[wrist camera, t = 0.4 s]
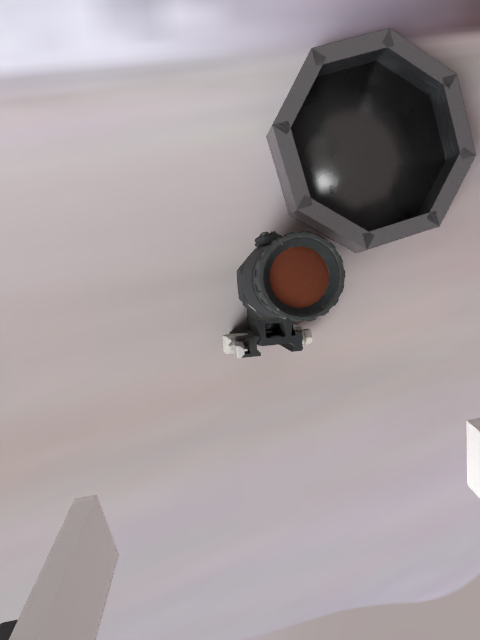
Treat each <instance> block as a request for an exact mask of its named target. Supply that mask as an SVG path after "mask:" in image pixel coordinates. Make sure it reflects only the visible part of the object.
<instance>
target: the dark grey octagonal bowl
mask: <svg viewBox="0 0 480 640" xmlns="http://www.w3.org/2000/svg"><path fill="white" fill-rule="evenodd" d="M267 140H268V143H269V147H270V150H271V154H272V157H273V160H274V164H275V167H276V171H277V174H278V177H279V181H280V184H281V188H282V191H283V194H284V198H285V201H286V205H287V208H288V211H289V215H290V216H292V217H294V218H295V219H297V220H299V221H301V222H302V223H304V224H306V225H308V226H309V227H311V228H313V229H315V230H316V231H318V232H320V233H322V234H323V235H325V236H327V237H329V238H330V239H332V240H334V241H336V242H338V243H339V244H341V245H343V246H345V247H346V248H348V249H350V250H352V251H353V252H355V253H356V252H360V251H364V250H368V249H371V248H374V247H377V246H380V245H383V244H386V243H389V242H392V241H395V240H399V239H402V238H405V237H408V236H411V235H414V234H417V233H420V232H423V231H426V230H430V229H433V228H436V227H439V226H440V224H441V222H442V220H443V218H444V217H445V215H446V213H447V211H448V209H449V207H450V205H451V203H452V201H453V199H454V197H455V195H456V193H457V191H458V189H459V187H460V185H461V183H462V181H463V179H464V177H465V175H466V174H467V172H468V170H469V168H470V166H471V164H472V162H473V160H474V158H475V156H476V154H475V149H474V145H473V141H472V137H471V132H470V128H469V124H468V120H467V115H466V111H465V107H464V103H463V99H462V94H461V90H460V86H459V82H458V77H457V74H456V73H454V72H453V71H451V70H450V69H449V68H447V67H446V66H444V65H443V64H441V63H440V62H438V61H437V60H435V59H434V58H432V57H431V56H430V55H428V54H427V53H425V52H424V51H422V50H421V49H419V48H418V47H416V46H415V45H413V44H412V43H411V42H409V41H408V40H406V39H405V38H403V37H402V36H400V35H399V34H397V33H396V32H394V31H393V30H392V29H390V28H388V29H384V30H380V31H377V32H373V33H369V34H365V35H361V36H357V37H353V38H349V39H346V40H342V41H338V42H334V43H330V44H326V45H322V46H319V47H315V48H311V50H310V52H309V54H308V56H307V58H306V60H305V62H304V64H303V66H302V68H301V70H300V72H299V74H298V76H297V78H296V80H295V82H294V84H293V86H292V88H291V90H290V92H289V94H288V96H287V97H286V99H285V101H284V103H283V105H282V107H281V109H280V111H279V113H278V115H277V117H276V119H275V121H274V123H273V125H272V127H271V129H270V131H269V133H268V135H267Z"/></svg>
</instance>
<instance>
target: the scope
mask: <svg viewBox="0 0 480 640" xmlns="http://www.w3.org/2000/svg"><path fill="white" fill-rule="evenodd" d="M255 242H256V244H255V246H256V247H257V248H256V249H255V250H254V251H253V252H252V253H251V254H250V255H249V257H248V258H247V259H246V260H245V261H244V263H243V264H242V265H241V266H240V267H239V269H238V270H237V284H238V294H239V299H240V300H241V301H242V302H243V306H245V307H246V308H247V315H248V324H249V327H250V330H241V331H231V332H230V334H227V335H223V348H224V353H226V354H230V353H234V356H235V357H236V358H237V359H240V358H244V357H253V356H261V353H260V352H259V351H258V350H257V344H258V345H260V346H266V345H276V344H279V345H281V346H283V347H285V348H286V349H288V350H290V351H292V352H293V351H302V349H303V346H304V345H305V344H311V343H312V334H311V330H310V329H302V328H301V327H298V328H296V326H297V325H295V324H292V321H294V322H301V321H302V320H306V321H312V320H315V319H316V317H318V316H320V315H321V316H323V315H325V314H326V313H328V312H329V309H330V308H331V307H332V306H335V305H336V303H337V302H338V298H339V296H340V294H341V292H343V288H344V278H345V270H344V268H343V264H342V262H343V261H342V258H341V256H340V255H339V254H338V253H337V251H336V249H335V247H334V246H333V245H332V243H329V242H327V241H326V240H325V239H324V237H322V236H320V235H313V234H311V233H310V232H307V231H302V232H300V233H295V232H291V233H287V234H286V235H284V237H282V236H281V235H278V234H277V233H276V232H271V233H269V234H268V232H263V233H261V234H260V236H259V237H257V238H256V239H255ZM266 324H272V330H271V331H265V325H266Z"/></svg>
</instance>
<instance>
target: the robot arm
mask: <svg viewBox="0 0 480 640" xmlns="http://www.w3.org/2000/svg"><path fill="white" fill-rule="evenodd" d="M467 485H468V486H469V487H470V488H471V489H472V490H473V491H474V492H475V494H476V495H477V496H478V497H479V498H480V418H477V419H472V420H467ZM118 556H119V554H118V551H117V548H116V546H115V543H114V540H113V538H112V535H111V532H110V530H109V527H108V524H107V522H106V519H105V516H104V514H103V511H102V508H101V505H100V503H99V500H98V497H97V495H93V496H88V497H83V498H78V499H75V500H74V502H73V504H72V506H71V508H70V510H69V513H68V515H67V517H66V519H65V521H64V523H63V525H62V527H61V530H60V532H59V534H58V536H57V538H56V540H55V542H54V545H53V547H52V549H51V551H50V553H49V555H48V557H47V559H46V562H45V564H44V566H43V568H42V570H41V572H40V574H39V576H38V579H37V581H36V583H35V585H34V587H33V589H32V591H31V593H30V596H29V598H28V600H27V602H26V604H25V606H24V608H23V610H22V613H21V615H20V617H19V619H18V620H14V621H9V622H4V623H1V624H0V640H96V637H97V633H98V629H99V626H100V622H101V618H102V615H103V611H104V607H105V603H106V600H107V596H108V592H109V589H110V585H111V581H112V578H113V574H114V570H115V567H116V563H117V559H118Z"/></svg>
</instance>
